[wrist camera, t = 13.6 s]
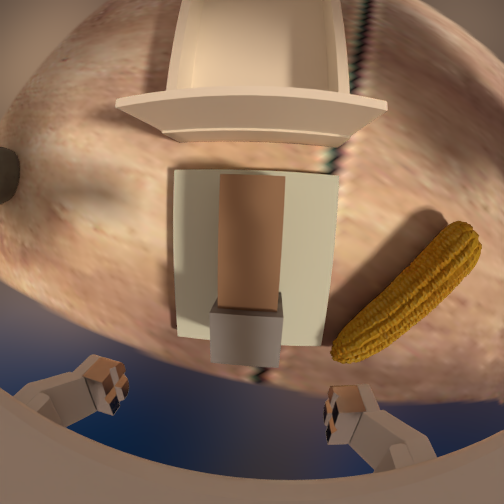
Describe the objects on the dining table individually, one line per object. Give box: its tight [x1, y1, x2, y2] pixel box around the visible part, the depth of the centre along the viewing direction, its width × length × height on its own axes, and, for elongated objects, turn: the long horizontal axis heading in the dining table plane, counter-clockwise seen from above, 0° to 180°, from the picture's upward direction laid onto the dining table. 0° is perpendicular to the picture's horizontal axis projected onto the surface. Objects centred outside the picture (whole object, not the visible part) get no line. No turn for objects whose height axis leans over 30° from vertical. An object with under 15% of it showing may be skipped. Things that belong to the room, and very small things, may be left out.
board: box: [173, 169, 339, 346], centre depth 28 cm, size 16×18×1 cm
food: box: [330, 221, 482, 364], centre depth 25 cm, size 21×6×6 cm, turn 134°
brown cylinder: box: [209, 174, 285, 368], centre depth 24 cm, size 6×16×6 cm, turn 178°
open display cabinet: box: [115, 0, 388, 148], centre depth 17 cm, size 16×22×13 cm
